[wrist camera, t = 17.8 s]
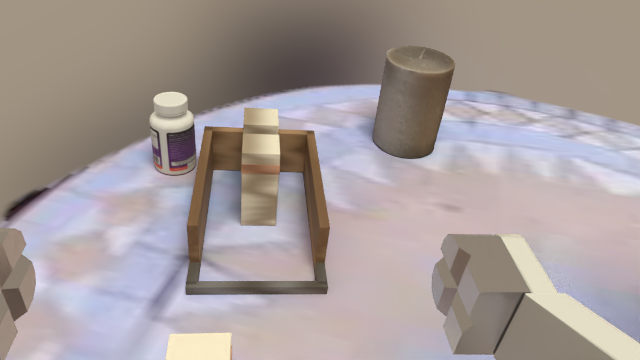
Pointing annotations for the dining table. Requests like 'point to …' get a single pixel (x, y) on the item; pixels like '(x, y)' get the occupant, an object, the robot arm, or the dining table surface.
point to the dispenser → (258, 194)
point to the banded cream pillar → (199, 346)
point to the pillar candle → (412, 100)
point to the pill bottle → (172, 134)
